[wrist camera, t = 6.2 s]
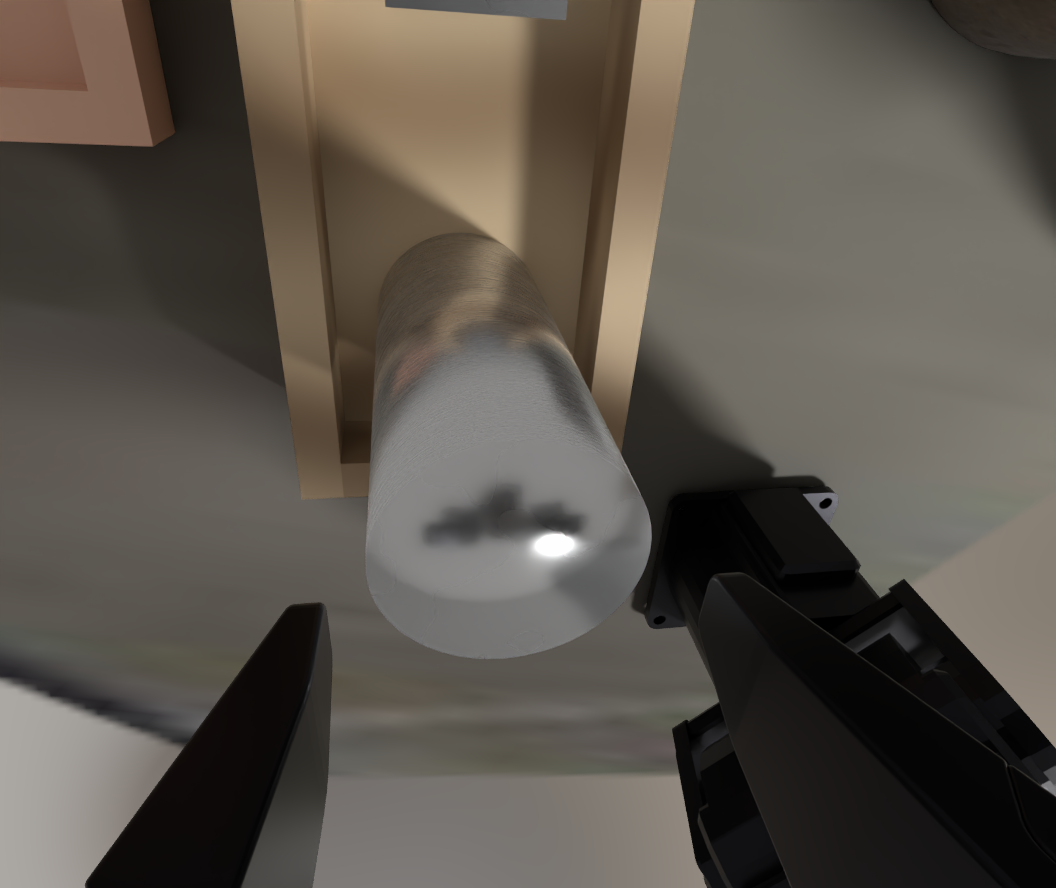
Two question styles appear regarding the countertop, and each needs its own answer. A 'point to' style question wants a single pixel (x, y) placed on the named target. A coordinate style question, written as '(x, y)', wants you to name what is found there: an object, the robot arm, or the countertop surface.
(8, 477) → the countertop surface
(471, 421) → the grey tall cylinder
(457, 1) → the grey rectangular metal block
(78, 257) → the countertop surface
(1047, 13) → the pillar candle
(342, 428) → the socket block
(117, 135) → the rack tray
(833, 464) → the countertop surface
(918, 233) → the countertop surface
